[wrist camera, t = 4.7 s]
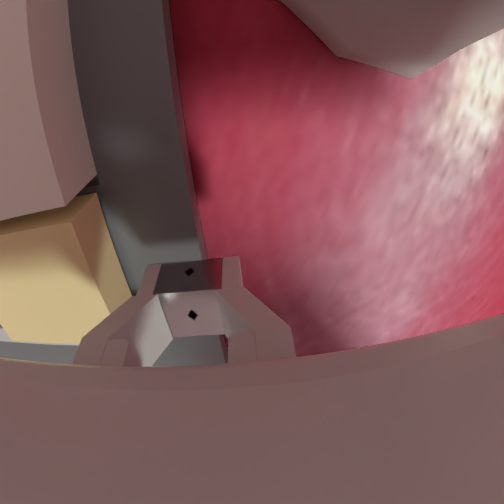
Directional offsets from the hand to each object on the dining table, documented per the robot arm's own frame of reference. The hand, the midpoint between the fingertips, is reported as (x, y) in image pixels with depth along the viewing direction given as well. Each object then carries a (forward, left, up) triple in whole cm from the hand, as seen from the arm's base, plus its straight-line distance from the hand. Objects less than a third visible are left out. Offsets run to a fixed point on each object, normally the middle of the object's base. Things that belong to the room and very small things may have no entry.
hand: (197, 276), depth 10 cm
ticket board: (+9, -3, -3) cm, 10 cm away
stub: (+6, -1, -1) cm, 6 cm away
